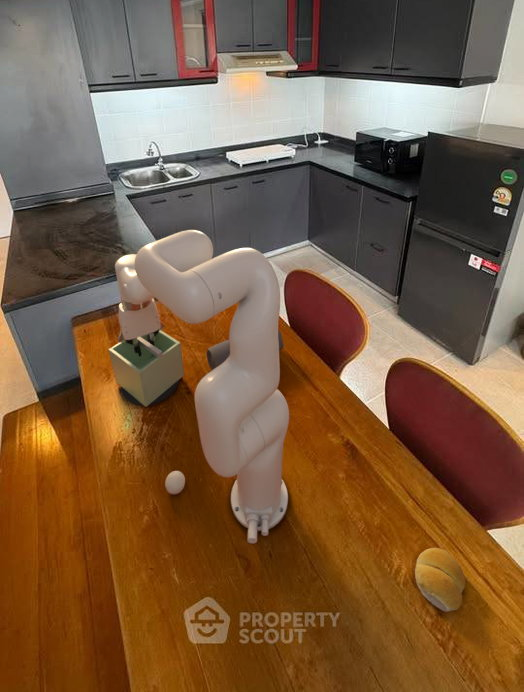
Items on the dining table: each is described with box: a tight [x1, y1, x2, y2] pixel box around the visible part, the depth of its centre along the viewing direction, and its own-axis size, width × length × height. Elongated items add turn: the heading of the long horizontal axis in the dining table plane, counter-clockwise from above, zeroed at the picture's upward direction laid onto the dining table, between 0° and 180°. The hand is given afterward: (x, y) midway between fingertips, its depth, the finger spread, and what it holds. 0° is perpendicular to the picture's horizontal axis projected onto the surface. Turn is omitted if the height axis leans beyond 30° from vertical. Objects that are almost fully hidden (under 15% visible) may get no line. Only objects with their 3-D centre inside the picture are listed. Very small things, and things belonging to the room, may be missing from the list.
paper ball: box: [164, 470, 186, 495], centre depth 85 cm, size 4×4×4 cm
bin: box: [108, 330, 185, 408], centre depth 110 cm, size 14×14×14 cm
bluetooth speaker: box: [206, 328, 284, 371], centre depth 118 cm, size 23×9×10 cm, turn 118°
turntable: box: [120, 378, 181, 407], centre depth 113 cm, size 17×17×1 cm
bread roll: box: [414, 547, 466, 613], centre depth 71 cm, size 8×9×4 cm
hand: (144, 350), depth 108 cm, fingers closed on bin, 2 cm apart
